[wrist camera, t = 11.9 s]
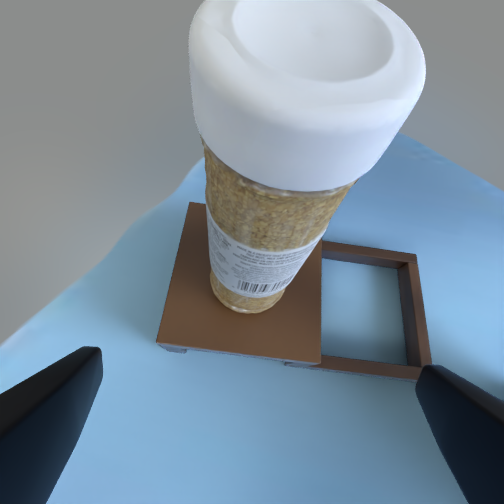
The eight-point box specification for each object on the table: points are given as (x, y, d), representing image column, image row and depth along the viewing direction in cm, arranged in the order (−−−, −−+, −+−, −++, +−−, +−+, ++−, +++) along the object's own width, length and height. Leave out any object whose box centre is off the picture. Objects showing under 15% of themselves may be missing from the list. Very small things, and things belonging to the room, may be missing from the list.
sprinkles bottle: (287, 249, 18) (422, -14, 6) (281, 322, 17) (459, 141, 4) (215, 238, 18) (211, -57, 6) (201, 309, 16) (153, 86, 4)
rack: (420, 382, 20) (465, 382, 16) (167, 351, 19) (155, 342, 15) (405, 261, 24) (439, 239, 20) (193, 230, 23) (189, 201, 19)
